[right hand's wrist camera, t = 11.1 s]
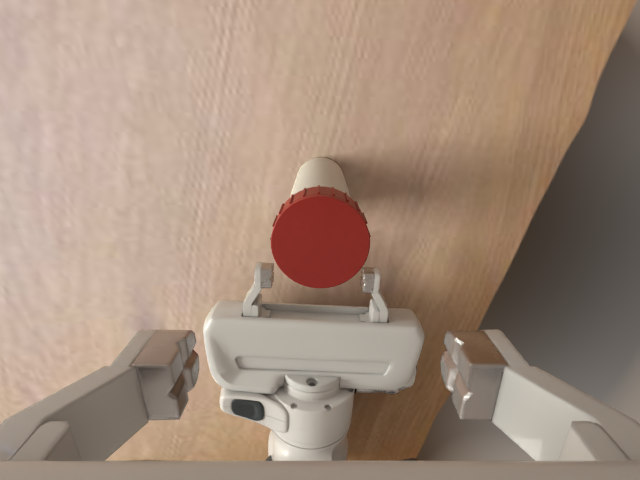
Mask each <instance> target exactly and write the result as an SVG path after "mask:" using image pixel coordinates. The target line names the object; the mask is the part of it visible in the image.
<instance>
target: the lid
mask: <svg viewBox="0 0 640 480" xmlns="http://www.w3.org/2000/svg"><path fill="white" fill-rule="evenodd" d="M366 224H367V221H366V218H365V216H364V213H362V212H361V210H360V208H359V206H358V203H357V202H356V201H354V200H353V199H352V198H351V197H349V196H348V195H347V193H346V192H345V193H343V192H342V191H340V190H337V189H334V187H332V188H331V187H324V186H320V185H318V186H317V187H310V188H304V190H301V191H299V192H297V193H296V194H294V195H293V194H292V195H291V197H290V198H289V199H288V200H287V201H286V202H285V204H282V206H281V209H280V211H279V214H278V215H276V218H275V221H274V223H273V231H272V235H271V249H272V254H273V257H274V259H275V261H276V263H277V265H278V266H279V268H280V269H281V270H282V272H283V273H284V274H285V275H286V276H288V277H289V278H290V279H292V280H293V281H295V282H297V283H299V284H301V285H304V286H308V287H312V288H329V287H334V286H337V285H340V284H342V283H344V282H346V281H348V280H349V279H351V278H352V277H353V276H354V275H356V274H357V273H358V271H359V270H360V269H361V268H362V266H363V265H364V263H365V261H366V259H367V256H368V253H369V249H370V233H369V231H368V228H367V225H366Z"/></svg>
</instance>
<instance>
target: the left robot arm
mask: <svg viewBox="0 0 640 480" xmlns="http://www.w3.org/2000/svg"><path fill="white" fill-rule="evenodd" d="M273 270H274V263H262V262H258V263H257V265H256V267H255V282H254V283H253V285H252V287H251V288H250V290H249V291H248V293H247V295H246V297H245V300H244V301H229V300H221V301H219V302H218V303H217V304H216V305H215V306H214V307H213V308H212V309H211V310H210V312H209V314H208V316H207V318H206V320H205V323H204V327H203V334H204V343H205V350H206V355H207V360H208V364H209V368H210V372H211V374H212V376H213V378H214V380H215V381H216V382H217V383H218V384H219V385H220V386H222V390H221V396H220V408H221V409H222V411H224V412H225V413H228V414H231V415H234V416H238V417H241V418H245V419H248V420H251V421H254V422H256V423H259V424H261V425H264V426H266V427H268V428H270V429H271V432H270V435H269V440H268V458H267V459H266V460H265V461H347V455H348V437H347V433H348V431H349V428H350V425H351V419H352V410H353V402H354V394H355V393H378V392H379V393H385V394H397V393H399V390H404V389H406V388H408V387H411V386H412V385H413V384H414V381H415V376H416V370H417V362H418V360H419V357H420V354H421V350H422V347H423V343H424V337H425V335H424V330H423V327H422V325H421V323H420V321H419V319H418V318H417V316H416V315H415V314H414V313H413V311H412V310H410V309H405V308H387V305H386V301H385V299H384V297H383V295H382V293H381V291H380V289H379V285H380V272H379V269H378V268H365V267H362V270H361V273H362V276H361V280H360V284H361V287H362V288H361V289H362V292H365V293H371V294H372V296H373V298H374V299H371V300H370V306H369V307H360V306H338V305H316V304H294V303H272V302H262V295H261V294H259V292H260V291H261V289H262V288H272V282H273V280H274V272H273ZM400 461H419V460H417V459H414V458H410V459H405V460H400Z"/></svg>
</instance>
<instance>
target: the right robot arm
mask: <svg viewBox="0 0 640 480" xmlns="http://www.w3.org/2000/svg"><path fill="white" fill-rule="evenodd" d="M195 344H196V338H195V333H194V332H193V331H192V330H140V331H138V332H137V333H136V335H135V336H134V337H133V338H132V340H131V341H130V342H129V343H128V345H127V346H126V347H125V348H124V349H123V351H122V352H121V353H120V354H119V356H118V357H117V358H116V359H115V361H114V362H113V363H112V364H111V366H104V367H102V368H100V369H99V370H97V371H95V372H93V373H91V374H89V375H87V376H86V377H84V378H82V379H80V380H78V381H76V382H74V383H73V384H71V385H69V386H67V387H65V388H63V389H61V390H59V391H58V392H56V393H54V394H52V395H50V396H48V397H46V398H45V399H43V400H41V401H39V402H37V403H35V404H33V405H31V406H30V407H28V408H26V409H24V410H22V411H20V412H18V413H17V414H15V415H13V416H11V417H9V418H7V419H5V420H4V421H3V422H2V423H1V424H0V480H640V424H639V423H638V422H637V421H636V420H634V419H632V418H631V417H629V416H627V415H625V414H623V413H621V412H619V411H617V410H616V409H614V408H612V407H610V406H608V405H606V404H605V403H603V402H601V401H599V400H597V399H595V398H593V397H592V396H590V395H588V394H586V393H584V392H582V391H580V390H579V389H577V388H575V387H573V386H571V385H569V384H567V383H566V382H564V381H562V380H560V379H558V378H556V377H554V376H552V375H551V374H549V373H547V372H545V371H543V370H541V369H539V368H538V367H535V366H529V364H528V363H527V362H526V361H525V359H524V358H523V357H522V356H521V354H520V353H519V352H518V351H517V350H516V348H515V347H514V346H513V345H512V343H511V342H510V341H509V340H508V338H507V337H506V336H505V335H504V333H503V332H502V331H500V330H498V329H496V330H475V331H447V332H446V334H445V337H444V344H445V346H446V348H447V350H446V351H445V352H444V353H443V354H442V357H441V374H442V378H443V381H444V384H445V386H446V388H447V389H449V390H450V391H451V392H453V395H452V402H453V404H454V406H455V409H456V411H457V413H458V415H459V417H460V419H463V420H492V422H493V423H494V424H495V425H496V426H497V427H498V428H499V429H500V430H502V431H503V432H504V433H505V434H506V435H507V436H508V437H509V438H511V439H512V440H513V441H514V442H515V443H516V444H517V445H518V446H520V447H521V448H522V449H523V450H524V451H525V452H526V453H527V454H529V455H530V456H531V457H532V458H533V459H534V460H535V461H105V460H106V459H107V458H108V457H109V456H110V455H112V454H113V453H114V452H115V451H116V450H117V449H118V448H119V447H121V446H122V445H123V444H124V443H125V442H126V441H127V440H129V439H130V438H131V437H132V436H133V435H134V434H135V433H136V432H138V431H139V430H140V429H141V428H142V427H143V426H144V425H145V424H147V423H148V420H176V419H180V417H181V415H182V413H183V411H184V409H185V406H186V404H187V402H188V395H187V392H189V391H190V390H191V389H193V388H194V386H195V384H196V381H197V378H198V373H199V356H198V354H197V353H196V352H195V351H194V350H193V348H194V346H195Z"/></svg>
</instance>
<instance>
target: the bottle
mask: <svg viewBox="0 0 640 480" xmlns="http://www.w3.org/2000/svg"><path fill="white" fill-rule="evenodd" d="M318 185H320V186H324V187H331V188H332V187H334V189H337V190H340V191H342V192H343V193H345V192H346V193H347V195H348V196H349V197H351V196H350V193H349V190H348V187H347V184H346V181H345V178H344V175H343V172H342V170H341V168H340V167H339V166H338V165H337V164H336V163H335V162H334V161H332V160H330V159H328V158H323V157H318V158H313V159H310V160H308V161H307V162H305V163H304V164H303V165H302V166H301V168H300V169H299V171H298V174H297V177H296V180H295V183H294V186H293V189H292V192H291V195H292V194H293V195H294V194H296V193H297V192H299V191H301V190H304V188H310V187H317V186H318ZM290 197H291V196H290Z"/></svg>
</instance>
